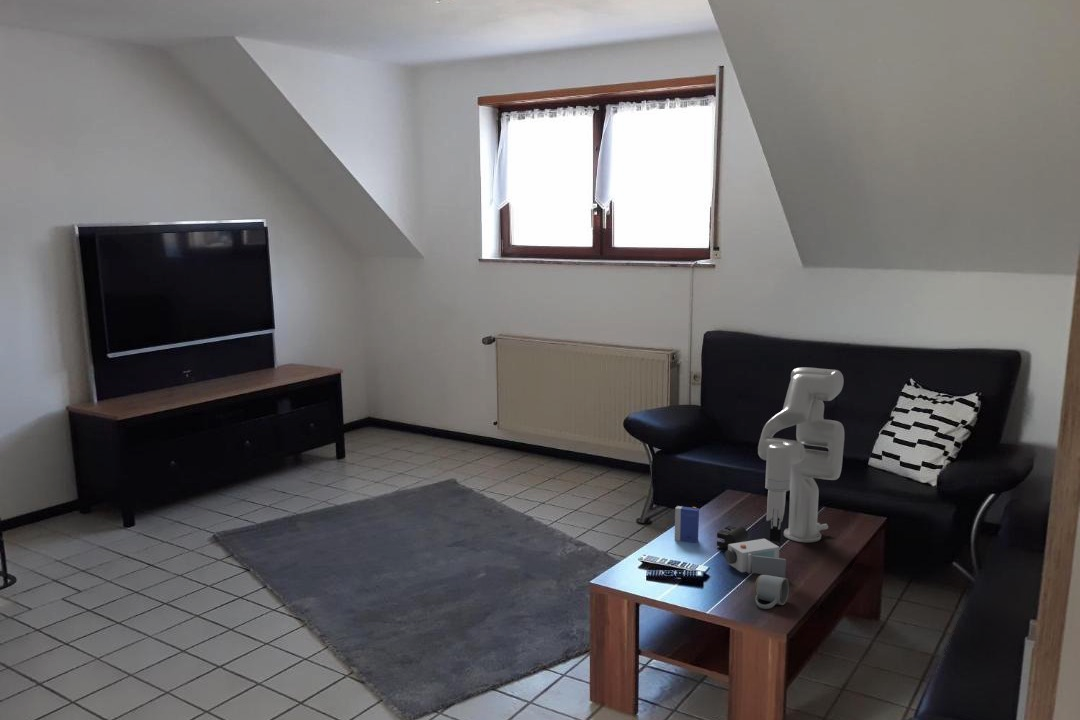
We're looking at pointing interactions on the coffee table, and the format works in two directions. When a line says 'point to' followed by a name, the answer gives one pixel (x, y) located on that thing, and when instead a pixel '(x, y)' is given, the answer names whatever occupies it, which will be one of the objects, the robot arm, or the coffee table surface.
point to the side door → (766, 565)
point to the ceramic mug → (771, 590)
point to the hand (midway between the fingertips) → (775, 540)
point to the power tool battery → (731, 537)
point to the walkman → (686, 524)
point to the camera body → (749, 552)
